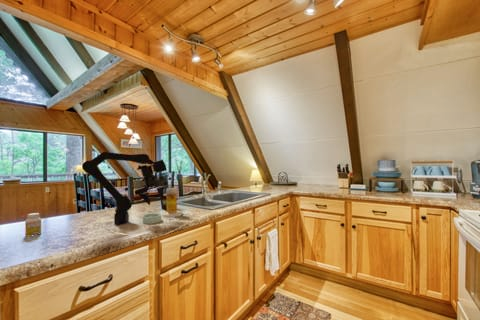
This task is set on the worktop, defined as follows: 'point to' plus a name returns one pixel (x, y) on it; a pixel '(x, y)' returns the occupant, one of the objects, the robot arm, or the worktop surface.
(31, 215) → the supplement bottle
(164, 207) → the coffee mug
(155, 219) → the bowl
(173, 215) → the trivet
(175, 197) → the yellow bottle
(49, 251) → the worktop surface
